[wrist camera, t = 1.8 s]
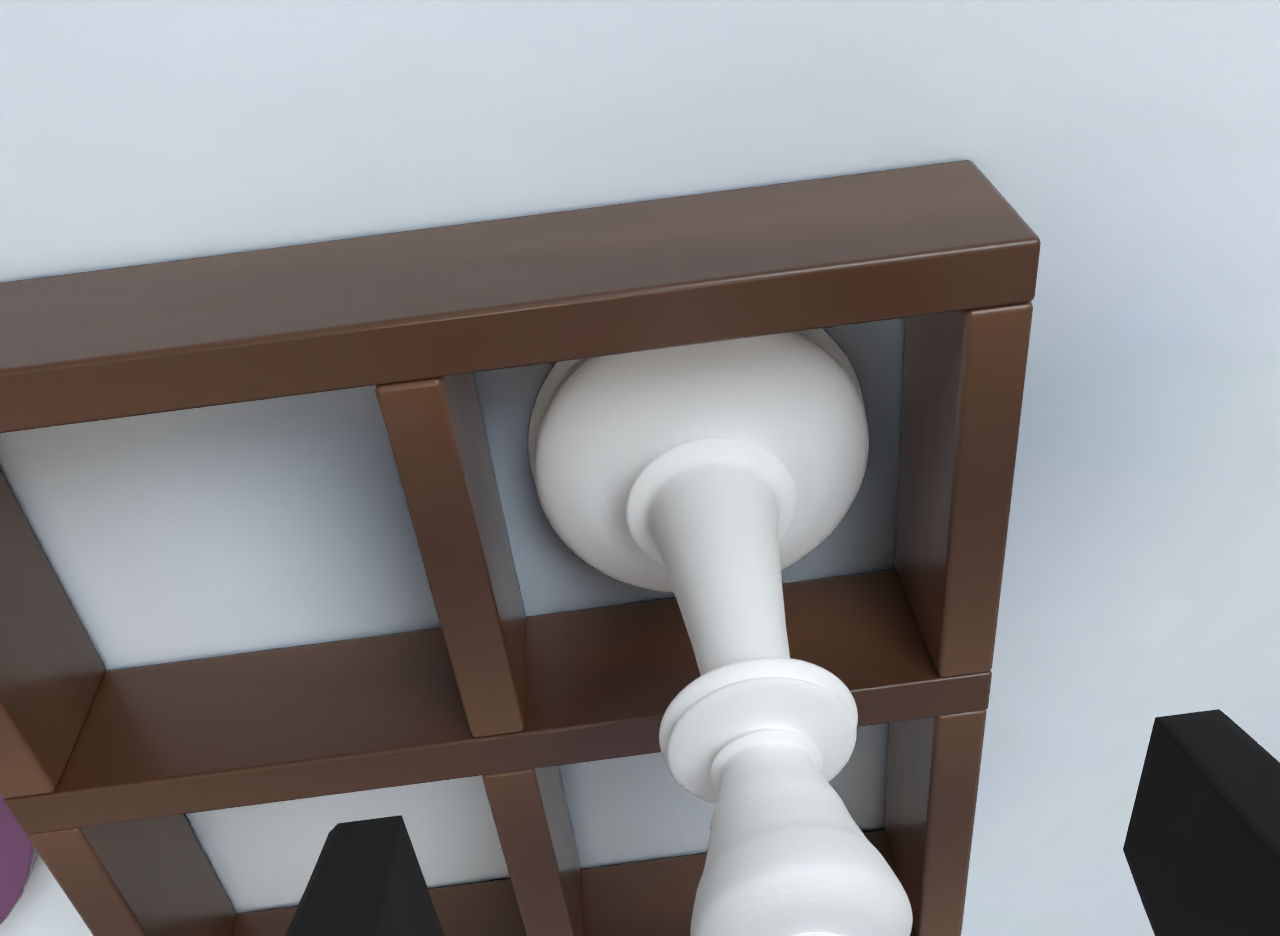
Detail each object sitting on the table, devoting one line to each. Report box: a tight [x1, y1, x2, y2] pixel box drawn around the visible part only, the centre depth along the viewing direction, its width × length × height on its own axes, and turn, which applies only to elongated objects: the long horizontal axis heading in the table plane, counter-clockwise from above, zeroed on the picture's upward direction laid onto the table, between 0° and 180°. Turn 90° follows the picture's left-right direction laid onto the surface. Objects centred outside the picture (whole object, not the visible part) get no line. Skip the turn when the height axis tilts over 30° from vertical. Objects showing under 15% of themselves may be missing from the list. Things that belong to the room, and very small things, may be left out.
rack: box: [0, 160, 1040, 936], centre depth 18 cm, size 14×14×2 cm
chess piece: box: [528, 328, 913, 936], centre depth 13 cm, size 5×5×10 cm
